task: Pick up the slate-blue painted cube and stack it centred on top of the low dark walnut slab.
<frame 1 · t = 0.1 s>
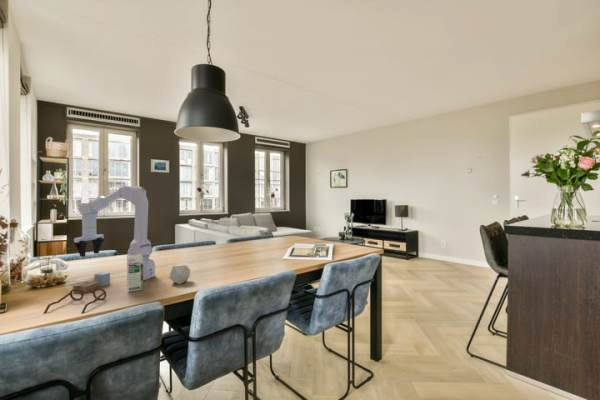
hand: (89, 254, 143), 10 cm above the table, fingers open, 7 cm apart
die: (179, 282, 131), on the table
slate cube: (102, 284, 128), on the table
glasses: (76, 308, 103), on the table
walnut slab: (86, 291, 120), on the table
syrup box: (135, 289, 122), on the table
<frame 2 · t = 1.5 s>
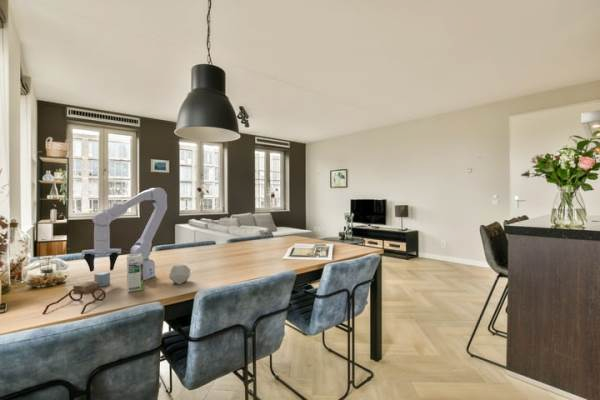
hand: (102, 270, 128), 6 cm above the table, fingers open, 7 cm apart
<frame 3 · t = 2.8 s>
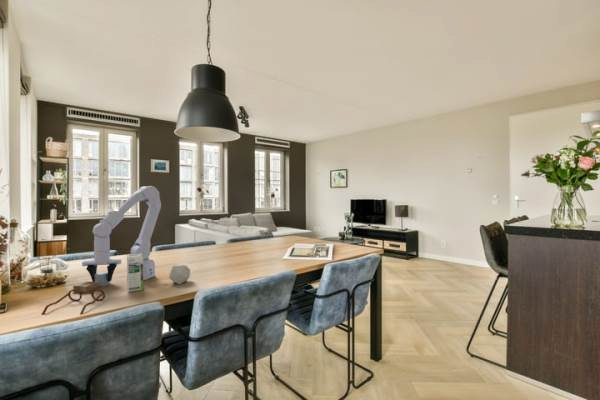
hand: (102, 281, 128), 1 cm above the table, fingers closed on slate cube, 5 cm apart
slate cube: (102, 284, 128), on the table, touching gripper
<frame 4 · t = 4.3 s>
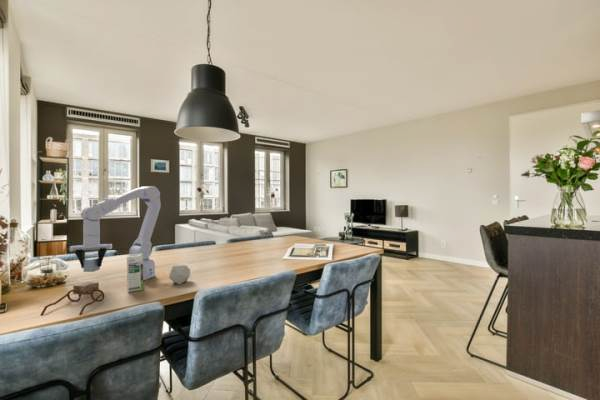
hand: (91, 266, 123), 9 cm above the table, fingers closed on slate cube, 5 cm apart
slate cube: (91, 270, 123), point 7 cm above the table, touching gripper
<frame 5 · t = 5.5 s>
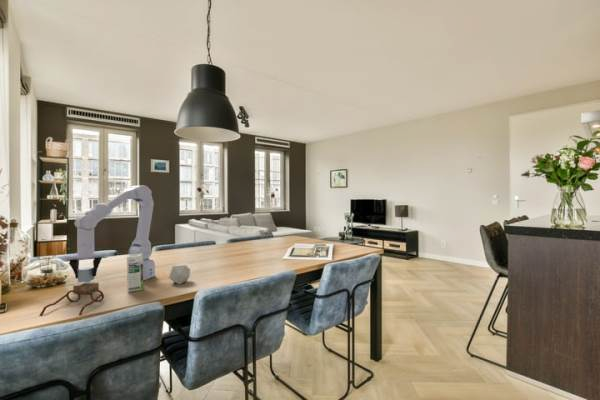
hand: (86, 276, 120), 6 cm above the table, fingers closed on slate cube, 5 cm apart
slate cube: (86, 280, 120), point 4 cm above the table, touching gripper
when the fingers open (6 cm above the table, at t = 6.0 s): slate cube drops 1 cm, resting on walnut slab.
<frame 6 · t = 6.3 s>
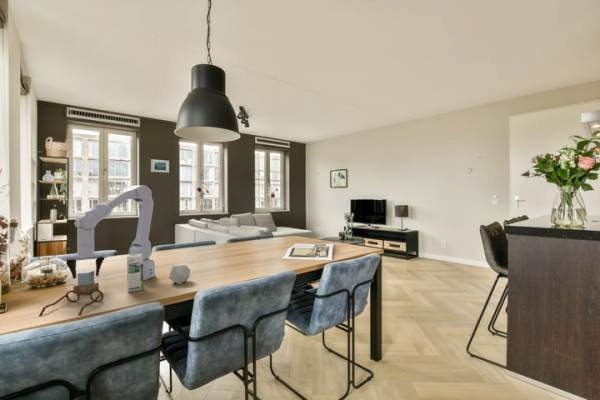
hand: (86, 276, 120), 6 cm above the table, fingers open, 7 cm apart
slate cube: (86, 284, 120), point 3 cm above the table, touching walnut slab
walnut slab: (86, 291, 120), on the table, touching slate cube
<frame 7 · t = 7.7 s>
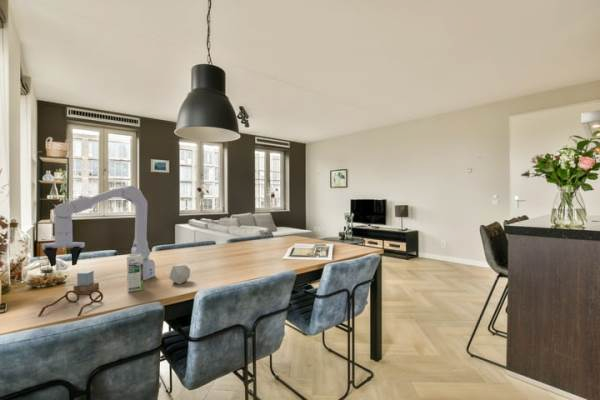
hand: (63, 265, 120), 10 cm above the table, fingers open, 7 cm apart
slate cube: (85, 284, 120), point 3 cm above the table
walnut slab: (86, 291, 120), on the table
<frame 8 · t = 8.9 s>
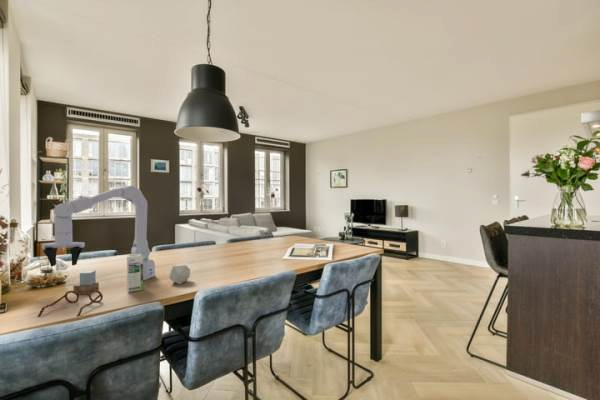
hand: (63, 265, 120), 10 cm above the table, fingers open, 7 cm apart
at the end: slate cube 0.7 cm off-centre on the walnut slab, point 3.0 cm above the walnut slab's base; slate cube tilted 1°; the gripper is holding nothing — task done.
